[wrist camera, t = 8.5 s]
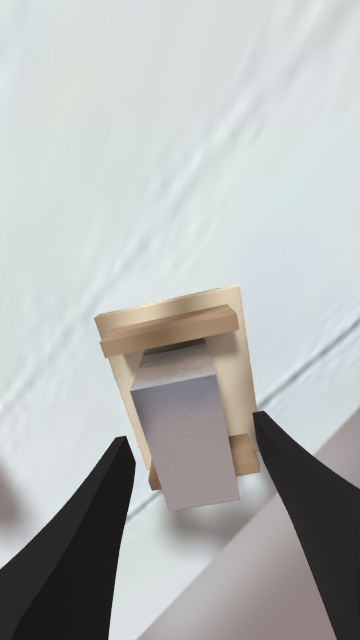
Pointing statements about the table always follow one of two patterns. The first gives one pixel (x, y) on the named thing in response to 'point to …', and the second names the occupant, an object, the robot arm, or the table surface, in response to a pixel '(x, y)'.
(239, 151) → the table surface
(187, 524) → the table surface
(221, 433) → the aluminium block
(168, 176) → the table surface
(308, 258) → the table surface
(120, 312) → the birch cradle
